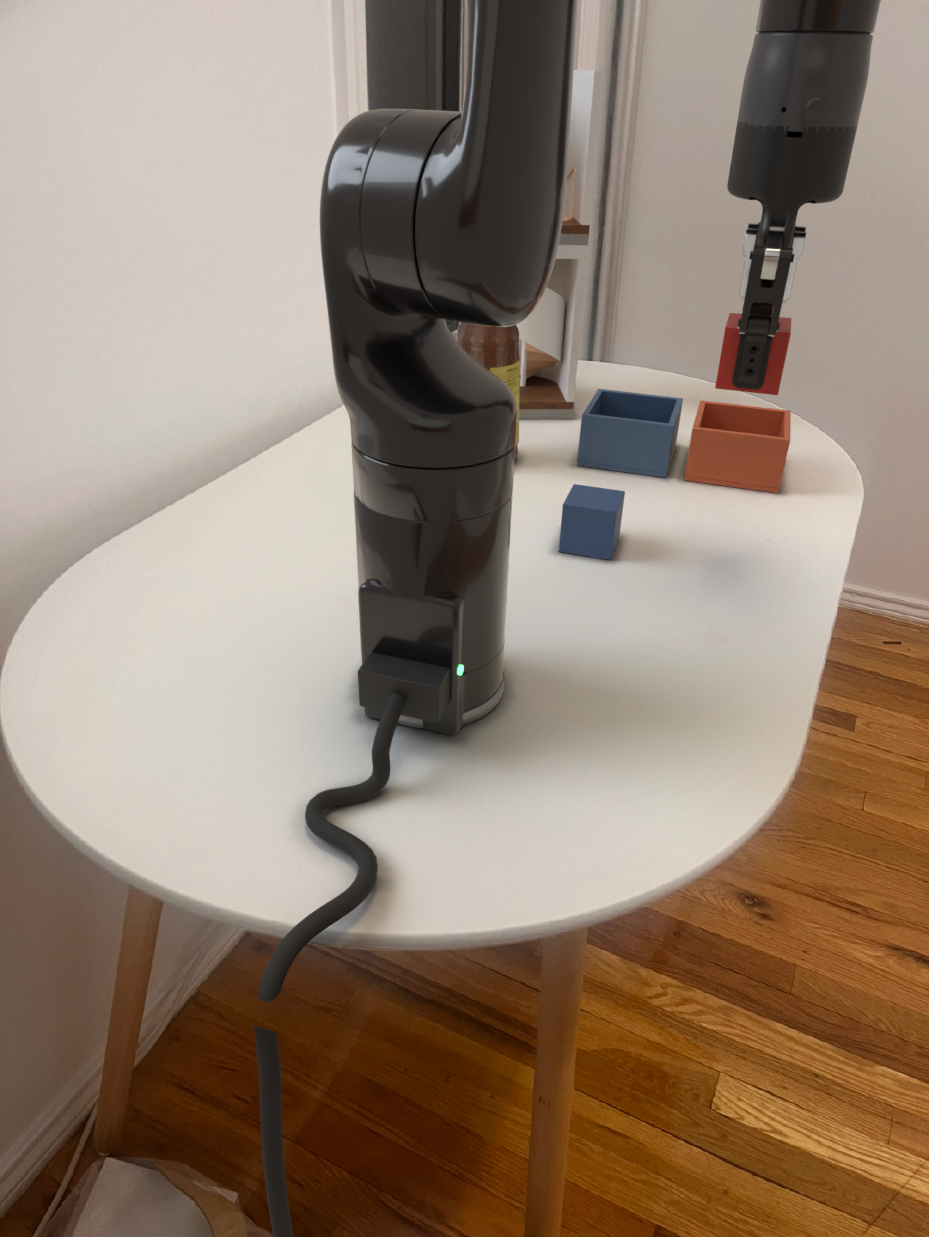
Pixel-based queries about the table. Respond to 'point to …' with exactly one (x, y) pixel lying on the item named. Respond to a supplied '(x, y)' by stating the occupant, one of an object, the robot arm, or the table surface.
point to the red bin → (738, 446)
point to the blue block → (591, 521)
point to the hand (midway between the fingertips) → (748, 376)
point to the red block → (774, 361)
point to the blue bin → (629, 432)
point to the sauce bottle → (495, 355)
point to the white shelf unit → (563, 273)
